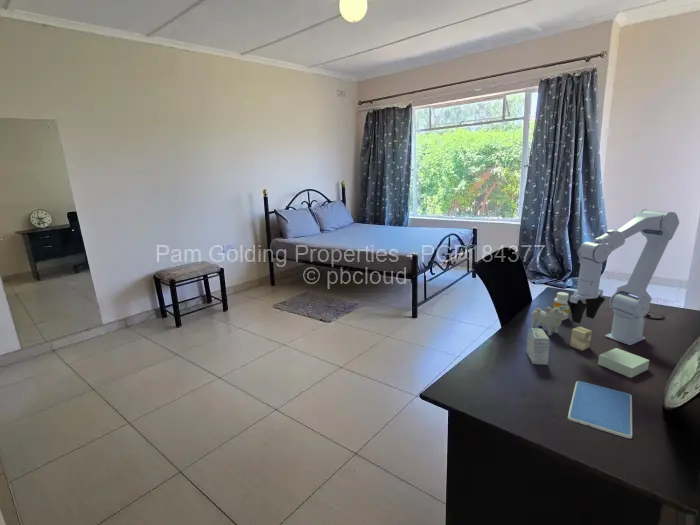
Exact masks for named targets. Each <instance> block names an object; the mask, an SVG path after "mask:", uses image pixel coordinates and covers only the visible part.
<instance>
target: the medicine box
mask: <svg viewBox="0 0 700 525" xmlns="http://www.w3.org/2000/svg"><path fill="white" fill-rule="evenodd" d="M550 343H551V342H550V338H549V335H547V334H546V332H545V331H544V329H543V328H538V327H536V328H532V327H531V328H530V327H529V328H528V329H527V339H526V348H525V350H526V351H525V352H526V354H527V356H528V358H529V359H530V361H531V364H532V365H545V366H548V364H549V363H548V362H549V353H550Z"/></svg>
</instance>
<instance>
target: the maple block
mask: <svg viewBox="0 0 700 525" xmlns="http://www.w3.org/2000/svg"><path fill="white" fill-rule="evenodd" d="M592 332H593V331H592V330H591V329H587V328H585V327H583V326H577V327H575V328H572V330H571V337H570V344H569V346H570V347H573V348H574V349H578V350H580V351H585V350H587V349H590V346H591V340H592Z"/></svg>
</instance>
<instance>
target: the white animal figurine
mask: <svg viewBox="0 0 700 525" xmlns="http://www.w3.org/2000/svg"><path fill="white" fill-rule="evenodd" d="M562 308H563V307H562V306H560V307H556V308H554V309H553V308H552V307H550V306H547V307H545V310H543V309H542V308H540V307H535V309H534V311H532V312H531V314H530V316H531V328H537V327H536V323H537V324H538V327H541V326H542V327H543V325H545V326H546V328H547V329H546V330H547V334H548V335H547V334H546V335H547V336H550V335H551V336H552V332H555V334H559V331H558V330H559V328H558V327H561V324H562V322H563V321H565V320H567V319H568V318H569V314H566V313H565V312H564V311H563V310H562Z"/></svg>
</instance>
